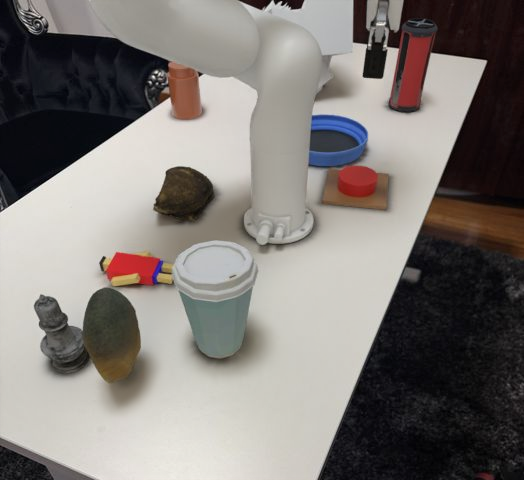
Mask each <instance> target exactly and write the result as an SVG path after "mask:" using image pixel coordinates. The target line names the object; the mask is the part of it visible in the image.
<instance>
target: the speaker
mask: <svg viewBox="0 0 524 480" xmlns="http://www.w3.org/2000/svg"><path fill="white" fill-rule="evenodd" d="M437 32H438V26H437V24H436V23H435V21H434V20H432V19H429V18H421V17H419V18H418V17H416V18H415V17H414V18H409V19H407V20H406V21H405V22H404V23H402V25H401V36H400V41H399V46H398V51H397V57H396V63H395V69H394V75H393V78H392V79H393V80H392V85H391V90H390V97H388V98H389V99H388V106H389V107H390V108H391V109H393V110H395V111H397V112H401V113H403V112H407V113H411V112H414V111H417V110H419V109H420V108H421V105H422V95H423V92H424V86H425V82H426V77H427V73H428V68H429V64H430V60H431V55H432V51H433V47H434V42H435V38H436V33H437Z"/></svg>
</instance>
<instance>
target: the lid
mask: <svg viewBox="0 0 524 480" xmlns="http://www.w3.org/2000/svg"><path fill="white" fill-rule="evenodd" d="M377 173H378V172H377V171H376V170H374V169H372V168H370V167H369V166H366V165H365V166H364V165H357V164H355V165H348V166H344V167H343V168H341V169H340V172H339V175H338V184H337V187H338V190H339V191H340V192H341V193H343V194H345V195H347V196H351V197H366V196H369V195H371V194H373V193H374V192H375V190H376V185H377V179H378V175H377Z"/></svg>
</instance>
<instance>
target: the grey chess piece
mask: <svg viewBox="0 0 524 480" xmlns="http://www.w3.org/2000/svg"><path fill="white" fill-rule="evenodd" d="M33 309H34V312H35V314H36V316H37V318H38V320H39V321H38V327H39V328H40V330H41V331H44V336H43V337H42V339H41V341H40V343H39V344H40V345H39V348H40V351H41V353H42V355H44V356H46V357H47V358H49V359H50V365H51V367H52V369H53V370H54V371H56V372H57V373H61V374H70V373H71V374H72V373H74V372H77V371H79V370H81V369H83V368H84V367H85V366H86V365H88V363H89V361H90V359H91V357H90V355H89V353H88V351H87V350H86V348H85V346H84V343H83V337H82V335H83V329H81V328H80V327H78V326H75V325H69V323H68V322H69V316H68V315H67V313H65V312H63V311H62V308H61V306H60V303H59V302H58V300H57V299H56V298H55V297H52V296H50V295H44V294H42V293H40V295H39V297H38V299H36V300H35V302H34V304H33Z"/></svg>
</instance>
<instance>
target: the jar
mask: <svg viewBox="0 0 524 480" xmlns="http://www.w3.org/2000/svg"><path fill="white" fill-rule="evenodd" d="M167 66H168V72H167V73H166V77H167V84H168V85H167V86H168V92H169V98H170V99H169V100H170V105H171V112H172V113H171V114H172V116H173V117H174V118H176V119H179V120H193V119H196V118H198V117H201V116H202V114H203V109H202V99H201V87H200V78H199V72H198V71H196V70H194V69H193V68H190V67H187V66H184V65H181V64H178V63H175V62H172V61H169V62H168V64H167Z"/></svg>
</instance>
